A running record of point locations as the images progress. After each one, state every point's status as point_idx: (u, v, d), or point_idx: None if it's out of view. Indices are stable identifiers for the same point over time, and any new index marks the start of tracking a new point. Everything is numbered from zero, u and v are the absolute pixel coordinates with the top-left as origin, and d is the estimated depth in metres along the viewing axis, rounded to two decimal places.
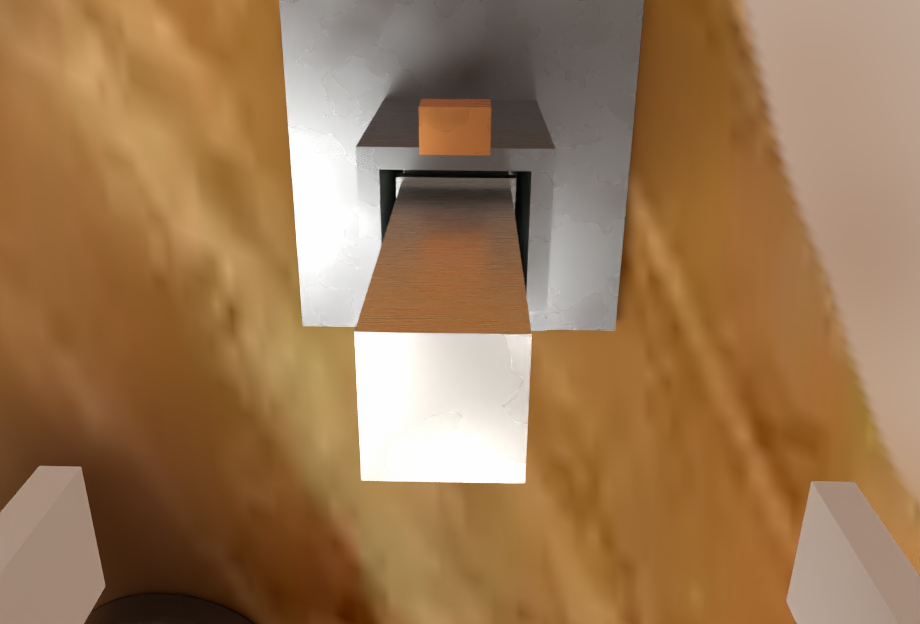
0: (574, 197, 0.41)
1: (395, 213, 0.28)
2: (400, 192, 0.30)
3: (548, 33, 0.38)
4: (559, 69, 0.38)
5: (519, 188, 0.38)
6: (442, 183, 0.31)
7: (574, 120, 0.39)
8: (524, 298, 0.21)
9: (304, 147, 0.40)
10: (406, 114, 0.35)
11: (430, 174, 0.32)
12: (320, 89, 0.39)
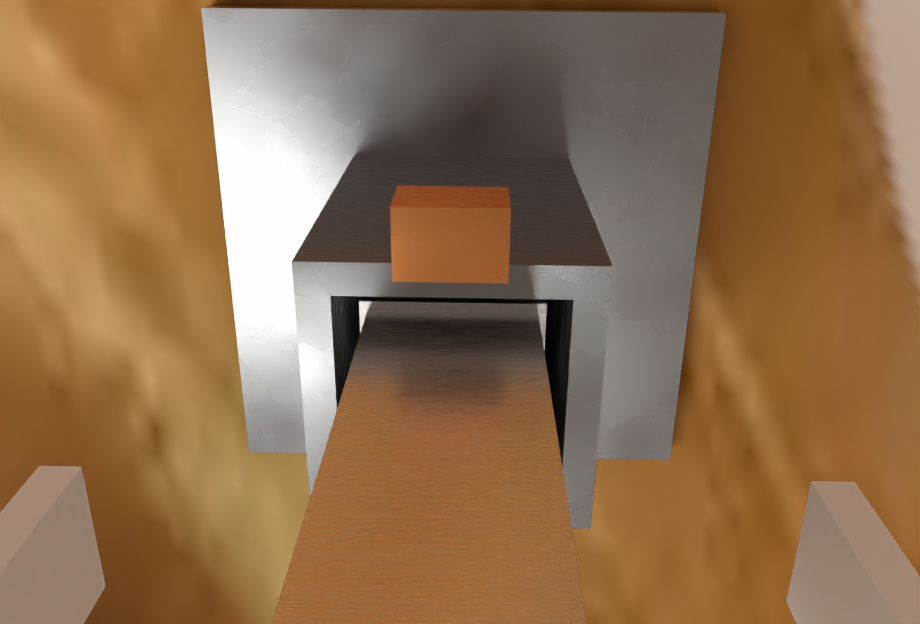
0: (618, 288, 0.29)
1: (349, 389, 0.16)
2: (363, 334, 0.19)
3: (586, 64, 0.26)
4: (600, 116, 0.27)
5: None
6: (431, 311, 0.20)
7: (621, 185, 0.28)
8: None
9: (244, 220, 0.29)
10: (382, 186, 0.24)
11: None
12: (264, 142, 0.28)
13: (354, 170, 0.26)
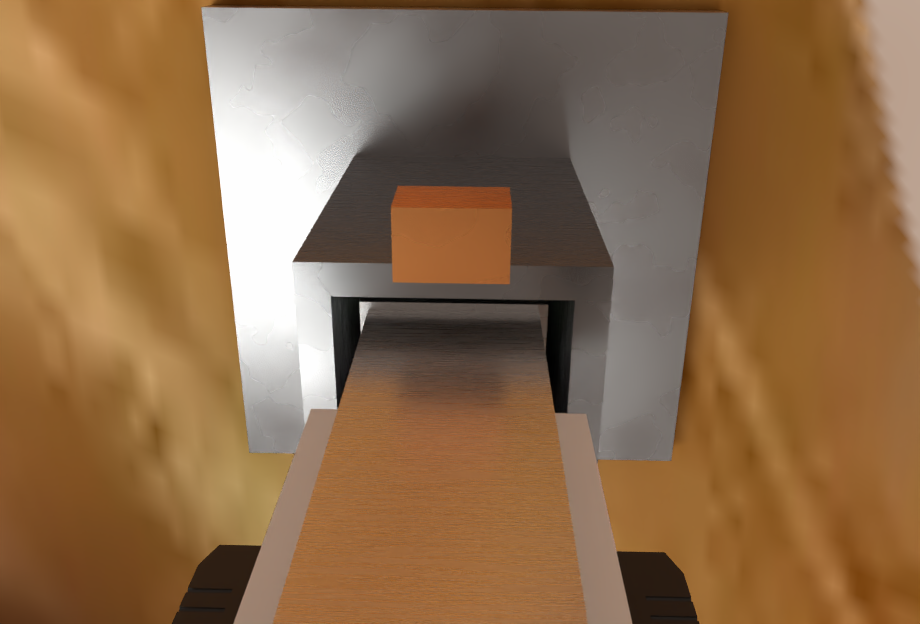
0: (620, 288, 0.29)
1: (350, 389, 0.16)
2: (364, 334, 0.19)
3: (588, 64, 0.26)
4: (602, 115, 0.27)
5: None
6: (432, 312, 0.20)
7: (623, 185, 0.28)
8: None
9: (244, 220, 0.29)
10: (382, 186, 0.24)
11: None
12: (264, 141, 0.28)
13: (355, 170, 0.26)
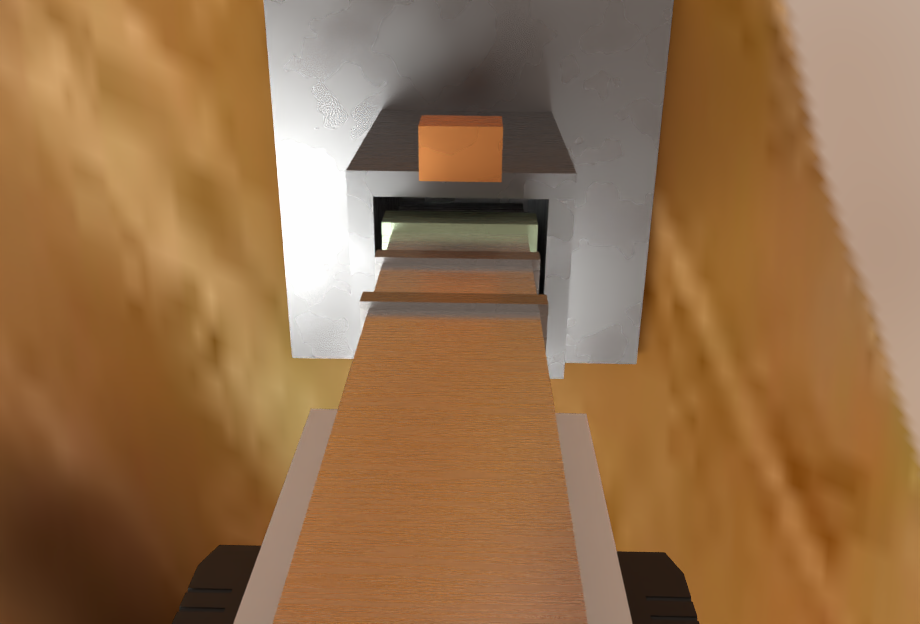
0: (592, 218, 0.37)
1: (350, 389, 0.16)
2: (364, 334, 0.19)
3: (565, 37, 0.34)
4: (576, 77, 0.34)
5: (532, 210, 0.34)
6: (432, 311, 0.20)
7: (593, 133, 0.35)
8: None
9: (292, 162, 0.36)
10: (405, 128, 0.31)
11: (414, 294, 0.20)
12: (310, 99, 0.35)
13: (383, 119, 0.33)
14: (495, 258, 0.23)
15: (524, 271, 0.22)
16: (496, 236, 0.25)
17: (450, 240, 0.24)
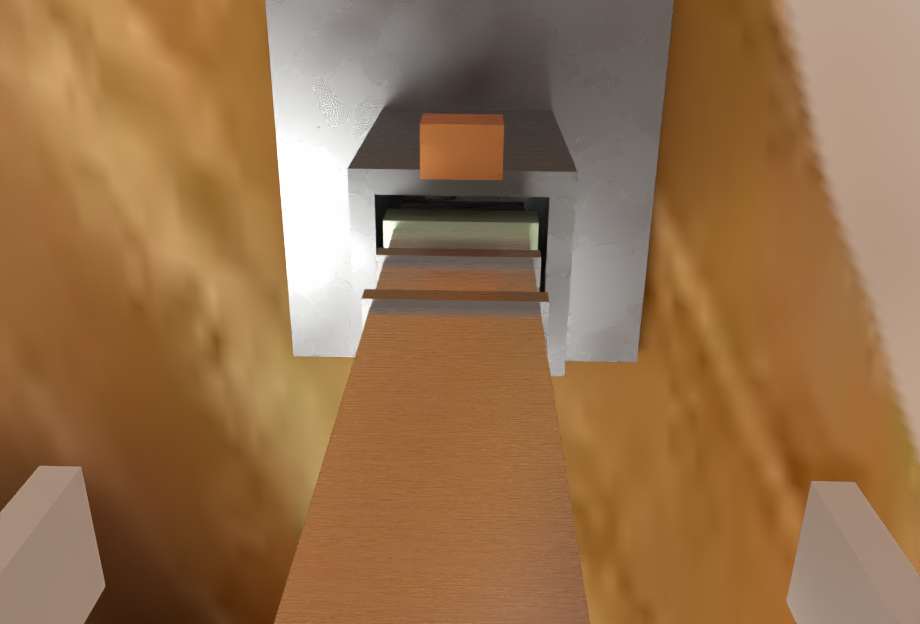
0: (593, 217, 0.37)
1: (352, 386, 0.16)
2: (366, 331, 0.19)
3: (566, 35, 0.34)
4: (577, 76, 0.34)
5: (533, 209, 0.34)
6: (434, 309, 0.20)
7: (594, 132, 0.35)
8: None
9: (294, 161, 0.36)
10: (406, 127, 0.32)
11: (416, 292, 0.20)
12: (311, 97, 0.35)
13: (384, 117, 0.33)
14: (496, 256, 0.23)
15: (525, 269, 0.22)
16: (498, 234, 0.25)
17: (451, 238, 0.25)
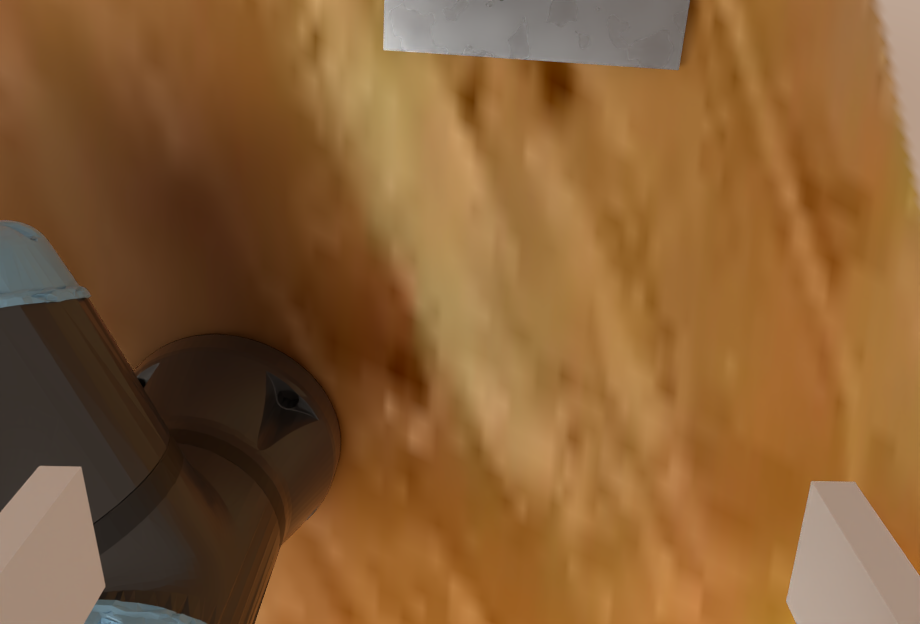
0: None
1: None
2: None
3: None
4: None
5: None
6: None
7: None
8: None
9: None
10: None
11: None
12: None
13: None
14: None
15: None
16: None
17: None
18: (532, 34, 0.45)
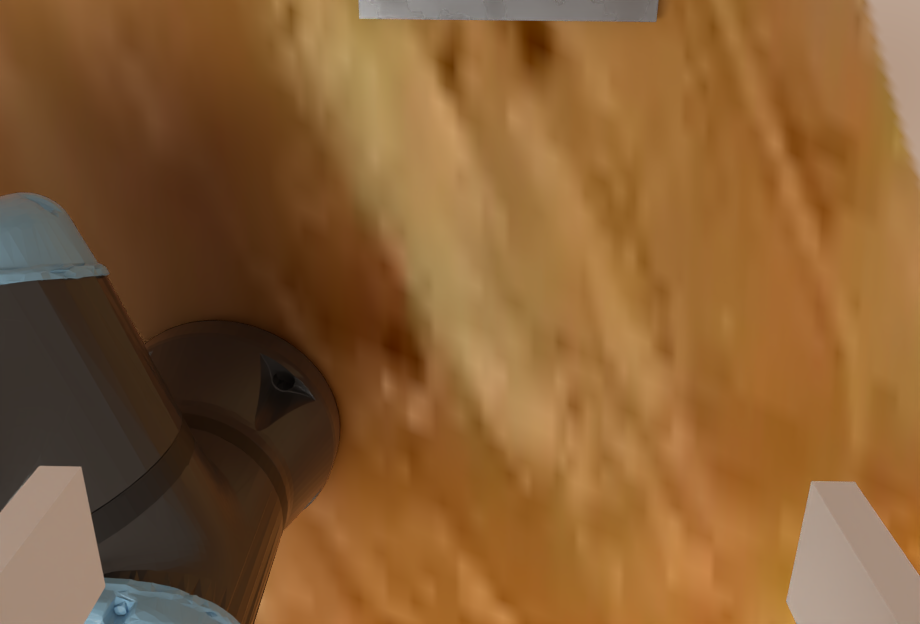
0: None
1: None
2: None
3: None
4: None
5: None
6: None
7: None
8: None
9: None
10: None
11: None
12: None
13: None
14: None
15: None
16: None
17: None
18: None
